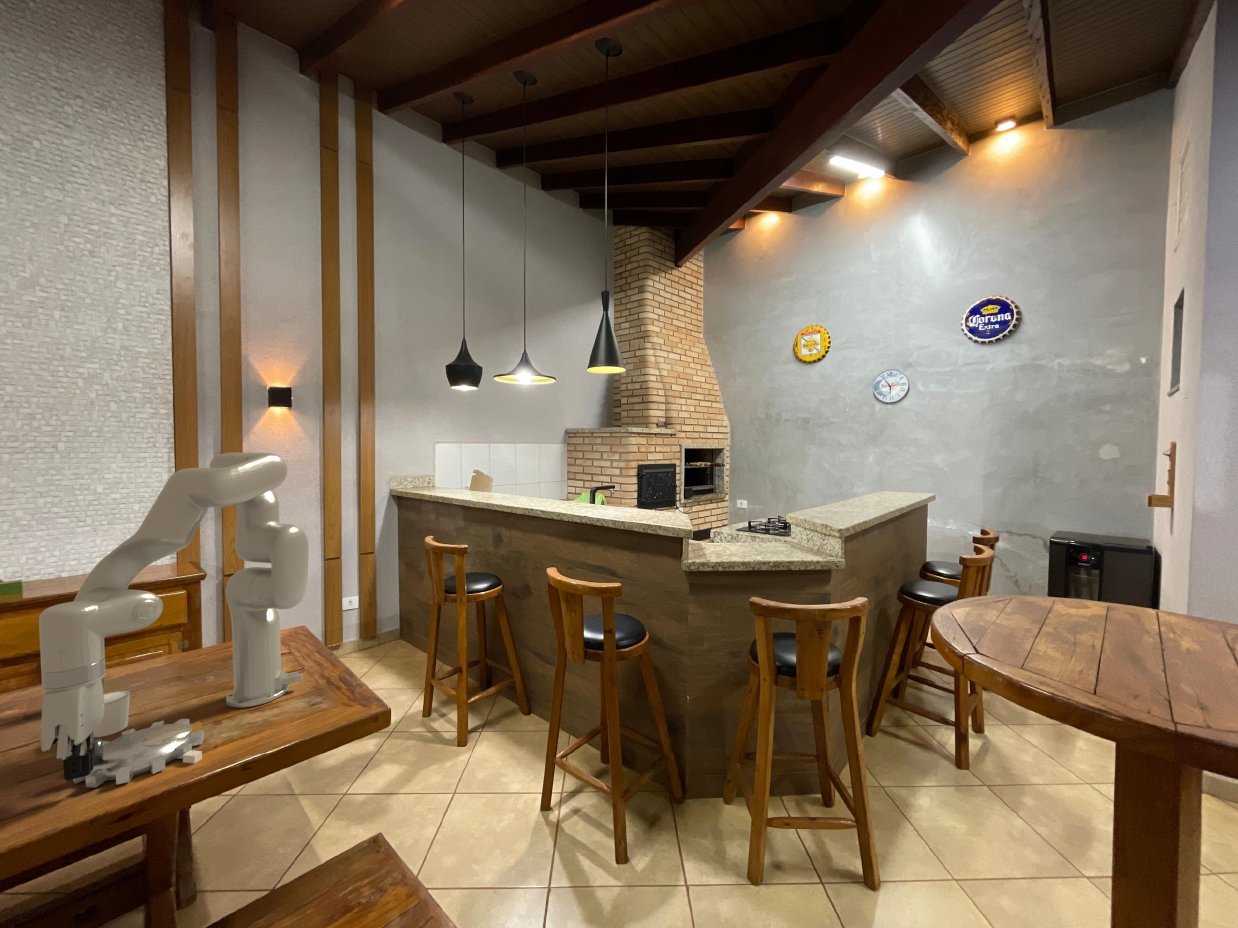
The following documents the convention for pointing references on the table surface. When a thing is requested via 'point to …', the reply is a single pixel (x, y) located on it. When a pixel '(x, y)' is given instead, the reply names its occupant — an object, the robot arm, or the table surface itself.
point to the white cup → (114, 713)
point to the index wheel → (141, 751)
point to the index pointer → (192, 756)
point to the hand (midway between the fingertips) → (79, 774)
